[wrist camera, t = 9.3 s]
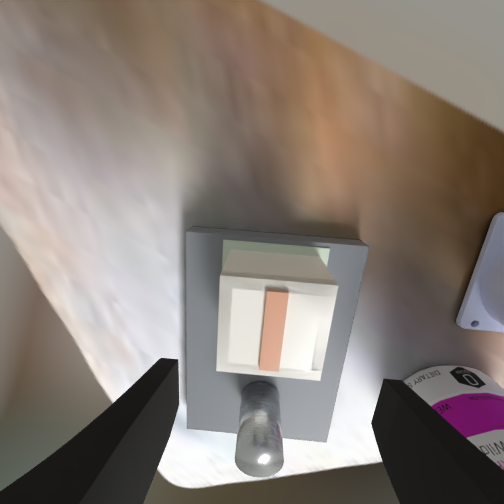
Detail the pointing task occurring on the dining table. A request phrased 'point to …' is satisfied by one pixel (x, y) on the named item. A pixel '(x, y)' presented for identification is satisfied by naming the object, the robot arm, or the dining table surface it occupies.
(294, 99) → the dining table surface
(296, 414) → the board
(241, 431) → the post
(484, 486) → the robot arm
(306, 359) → the white cube with stripe
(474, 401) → the supplement can
